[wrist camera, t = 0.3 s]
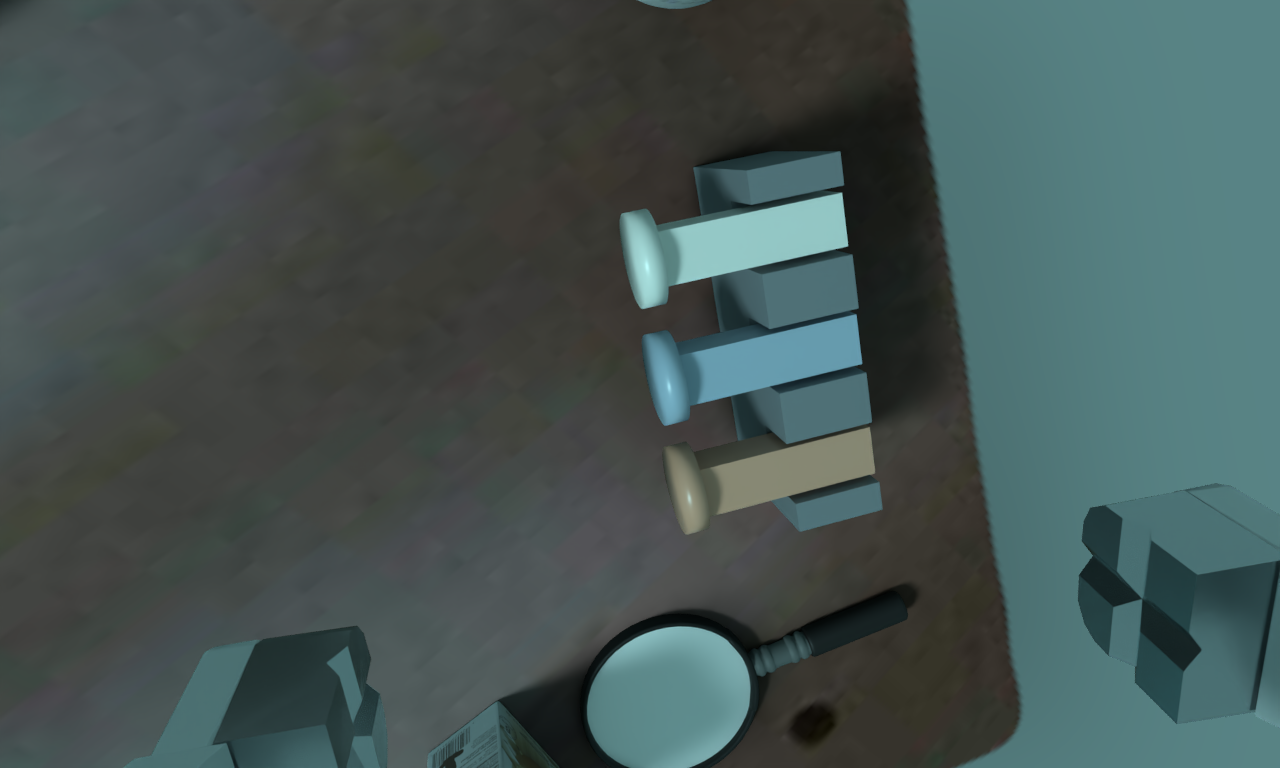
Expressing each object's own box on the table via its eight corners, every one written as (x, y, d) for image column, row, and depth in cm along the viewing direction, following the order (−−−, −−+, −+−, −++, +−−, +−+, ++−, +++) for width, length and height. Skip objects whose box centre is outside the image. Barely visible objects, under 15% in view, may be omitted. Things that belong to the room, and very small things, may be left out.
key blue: (636, 327, 50) (656, 345, 46) (825, 284, 52) (863, 297, 47) (652, 411, 52) (673, 437, 47) (835, 367, 53) (873, 387, 49)
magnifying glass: (913, 667, 68) (927, 683, 66) (611, 790, 65) (616, 811, 63) (874, 523, 64) (888, 536, 62) (553, 649, 62) (557, 667, 60)
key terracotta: (657, 435, 52) (678, 464, 47) (838, 390, 54) (876, 414, 49) (672, 513, 53) (694, 549, 49) (848, 468, 55) (886, 497, 50)
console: (693, 167, 55) (746, 170, 45) (771, 151, 55) (840, 151, 46) (742, 470, 60) (799, 531, 51) (812, 452, 61) (882, 509, 51)
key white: (614, 210, 48) (632, 216, 44) (810, 169, 50) (848, 171, 45) (631, 300, 50) (651, 316, 45) (821, 258, 51) (859, 269, 47)
